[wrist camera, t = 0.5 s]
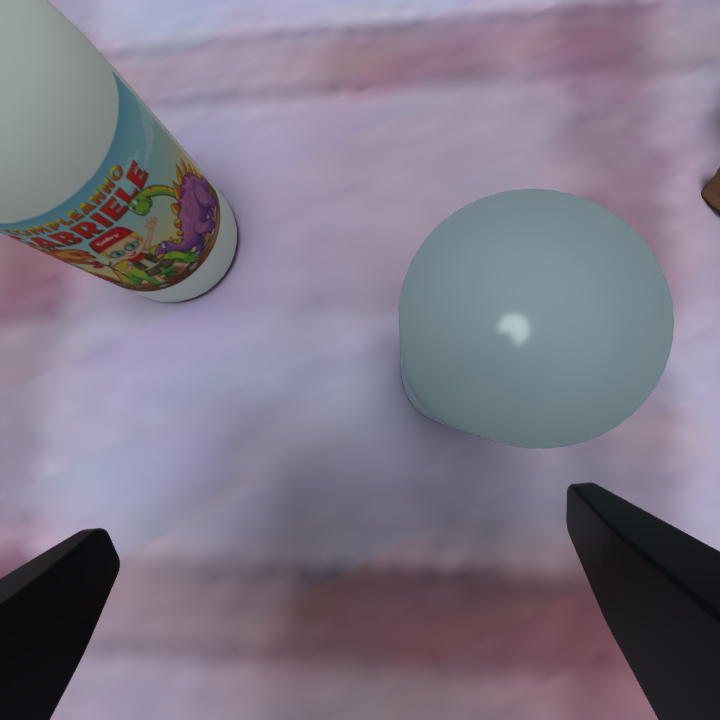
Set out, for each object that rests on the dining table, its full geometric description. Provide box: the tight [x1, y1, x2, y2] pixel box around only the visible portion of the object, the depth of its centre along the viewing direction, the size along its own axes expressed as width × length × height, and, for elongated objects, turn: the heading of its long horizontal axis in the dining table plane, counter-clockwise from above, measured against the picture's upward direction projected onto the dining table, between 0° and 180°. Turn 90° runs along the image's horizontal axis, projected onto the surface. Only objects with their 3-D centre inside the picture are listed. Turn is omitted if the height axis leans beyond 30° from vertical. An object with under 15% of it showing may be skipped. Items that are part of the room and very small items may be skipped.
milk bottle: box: [0, 0, 237, 302], centre depth 15 cm, size 8×8×20 cm
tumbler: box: [399, 189, 674, 448], centre depth 16 cm, size 6×6×14 cm
